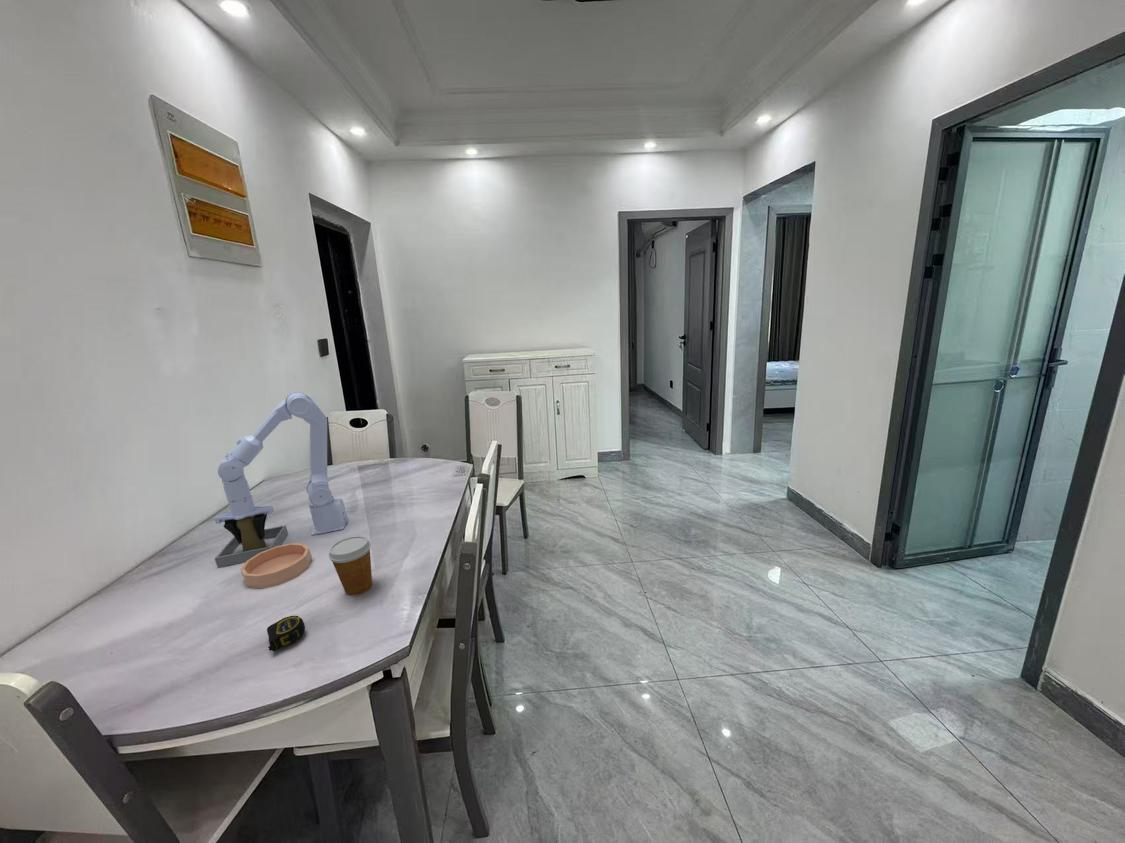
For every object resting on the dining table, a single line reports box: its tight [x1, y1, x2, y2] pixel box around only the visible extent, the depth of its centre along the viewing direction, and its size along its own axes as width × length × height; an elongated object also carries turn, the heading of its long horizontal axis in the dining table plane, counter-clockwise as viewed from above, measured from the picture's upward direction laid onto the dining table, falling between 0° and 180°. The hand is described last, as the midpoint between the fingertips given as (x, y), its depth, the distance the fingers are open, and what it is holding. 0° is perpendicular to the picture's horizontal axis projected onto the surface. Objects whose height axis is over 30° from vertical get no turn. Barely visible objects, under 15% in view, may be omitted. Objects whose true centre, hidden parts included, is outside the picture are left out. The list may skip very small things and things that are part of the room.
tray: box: [214, 525, 289, 568], centre depth 137 cm, size 14×14×3 cm
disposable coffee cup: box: [327, 535, 373, 597], centre depth 112 cm, size 10×10×12 cm
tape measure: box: [266, 615, 306, 652], centre depth 97 cm, size 7×7×4 cm
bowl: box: [240, 542, 313, 589], centre depth 124 cm, size 16×16×4 cm
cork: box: [236, 516, 268, 552], centre depth 135 cm, size 6×6×11 cm
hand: (252, 539), depth 136 cm, fingers closed on cork, 5 cm apart
